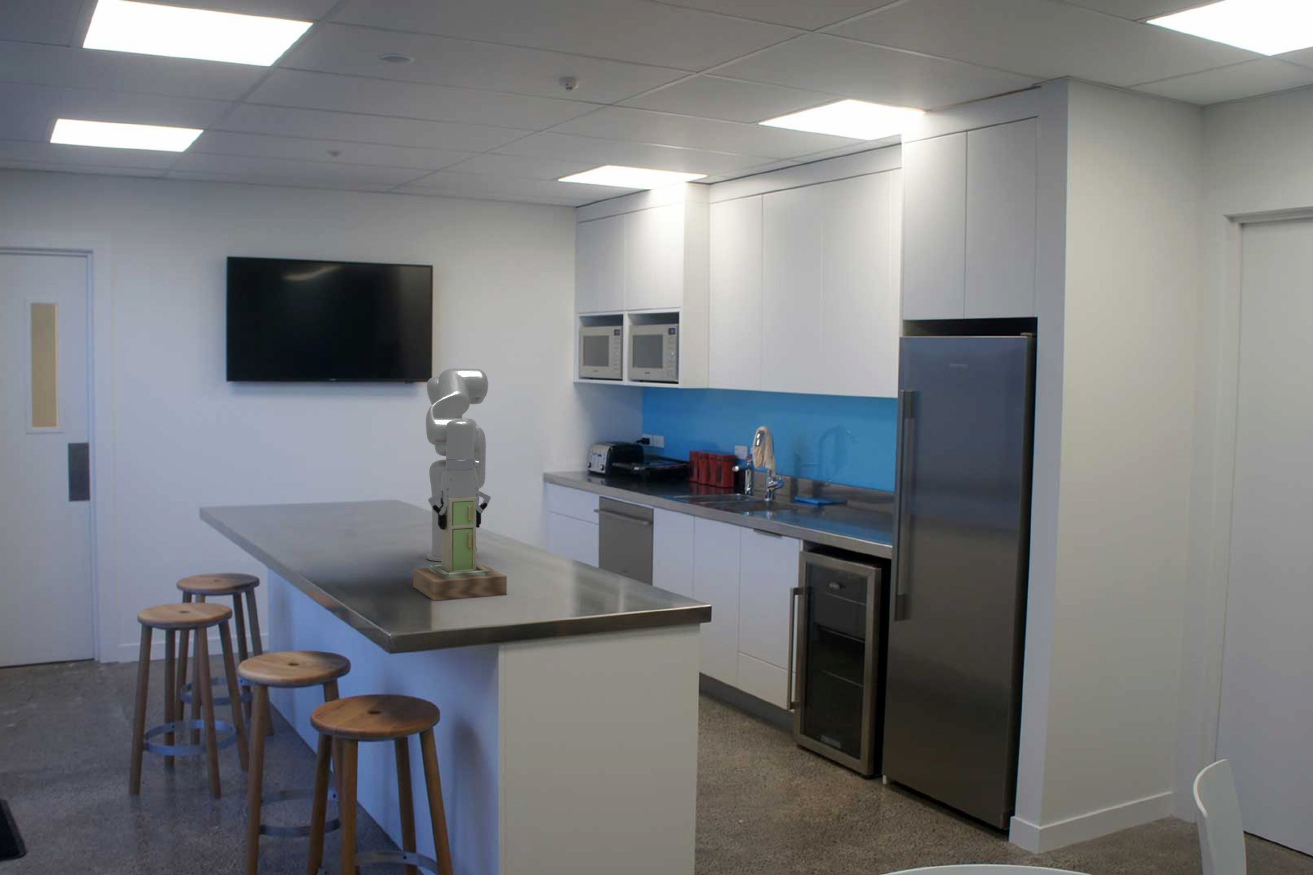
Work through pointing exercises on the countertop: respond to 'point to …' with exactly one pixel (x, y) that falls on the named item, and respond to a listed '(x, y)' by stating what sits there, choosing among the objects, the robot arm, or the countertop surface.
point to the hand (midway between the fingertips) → (459, 528)
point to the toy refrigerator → (459, 536)
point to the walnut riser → (459, 583)
